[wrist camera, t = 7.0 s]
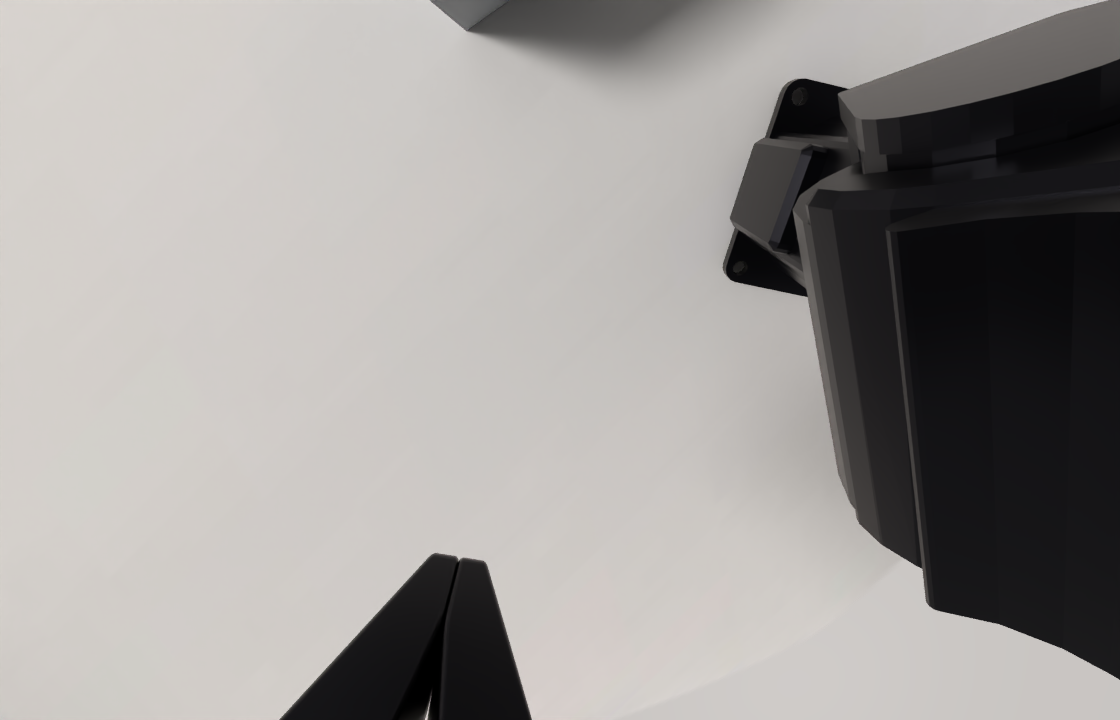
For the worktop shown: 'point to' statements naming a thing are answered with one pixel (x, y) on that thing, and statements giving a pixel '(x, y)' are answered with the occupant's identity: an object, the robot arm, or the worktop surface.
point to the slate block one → (468, 10)
